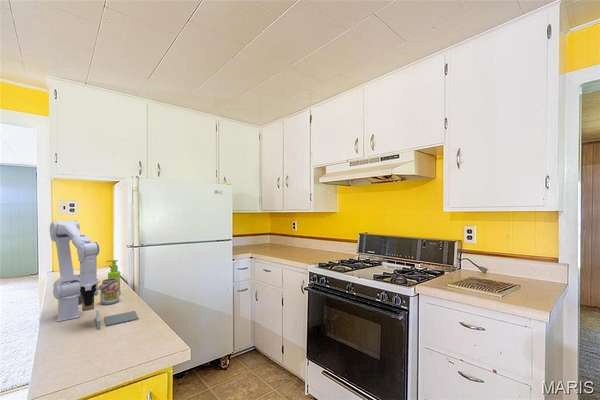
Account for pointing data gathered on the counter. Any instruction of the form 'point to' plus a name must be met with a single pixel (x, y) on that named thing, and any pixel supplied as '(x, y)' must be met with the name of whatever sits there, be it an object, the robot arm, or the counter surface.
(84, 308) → the walnut block
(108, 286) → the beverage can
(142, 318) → the counter surface
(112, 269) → the soap dispenser
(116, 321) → the resting mat
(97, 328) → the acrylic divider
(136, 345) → the counter surface
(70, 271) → the robot arm
